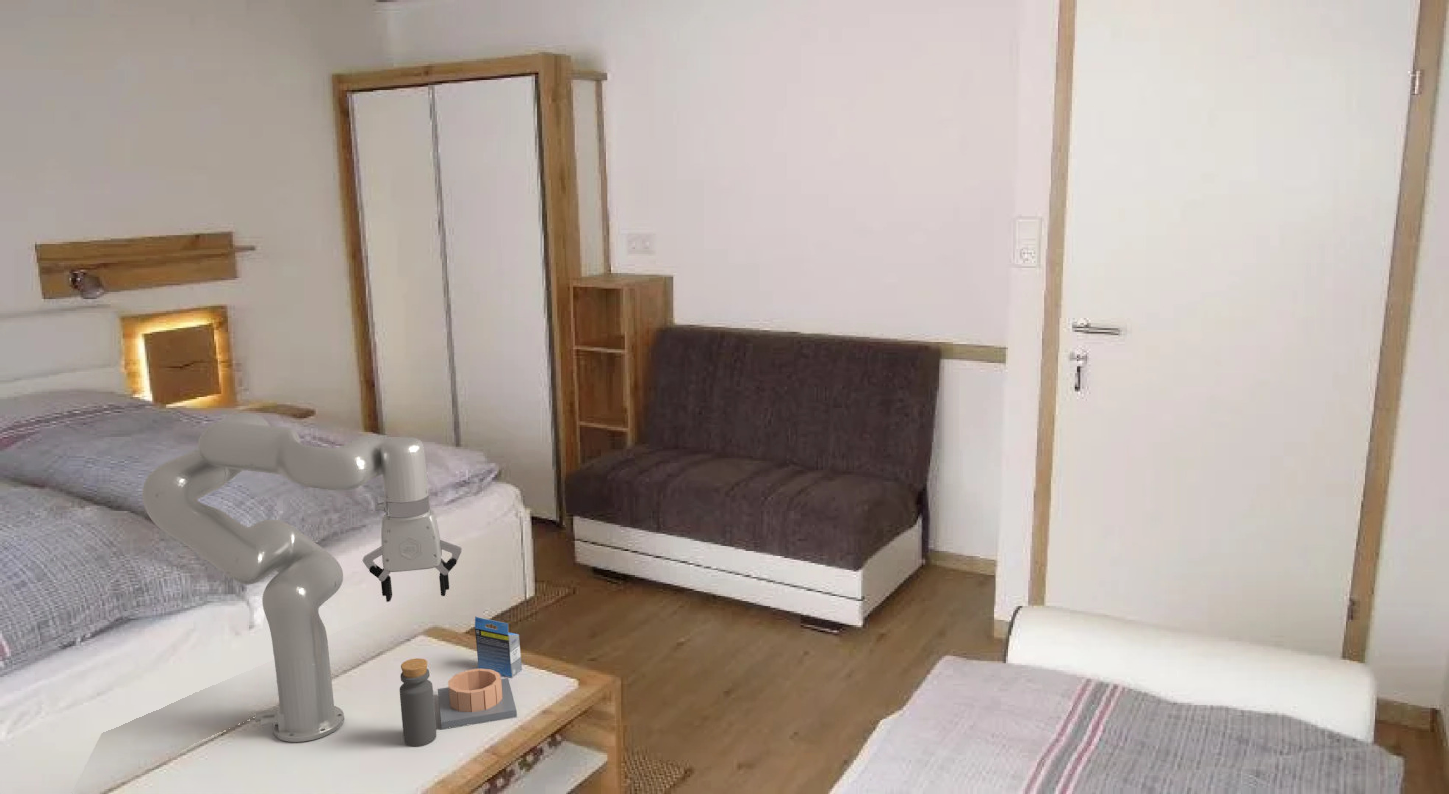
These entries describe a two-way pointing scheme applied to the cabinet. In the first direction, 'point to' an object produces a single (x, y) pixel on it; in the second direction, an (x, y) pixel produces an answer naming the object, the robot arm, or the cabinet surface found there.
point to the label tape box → (497, 647)
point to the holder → (475, 698)
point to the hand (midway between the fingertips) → (416, 596)
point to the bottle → (417, 703)
